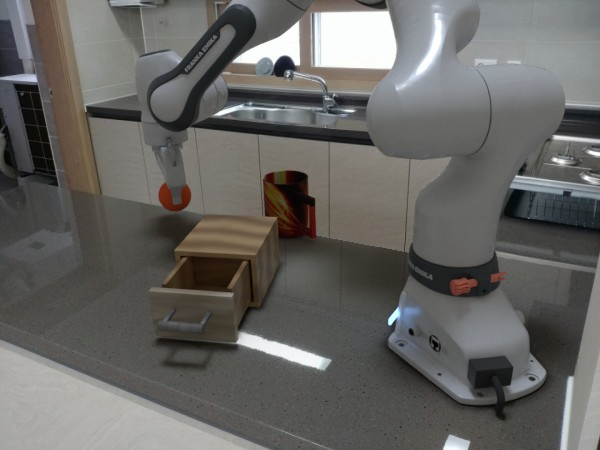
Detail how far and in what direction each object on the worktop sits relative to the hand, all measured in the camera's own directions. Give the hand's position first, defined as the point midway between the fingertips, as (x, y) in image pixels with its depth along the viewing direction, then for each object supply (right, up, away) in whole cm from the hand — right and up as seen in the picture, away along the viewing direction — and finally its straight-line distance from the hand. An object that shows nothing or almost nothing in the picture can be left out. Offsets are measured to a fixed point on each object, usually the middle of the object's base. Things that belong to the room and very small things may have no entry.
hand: (174, 196), depth 115 cm
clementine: (0, -3, +1) cm, 3 cm away
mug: (+26, -7, +2) cm, 27 cm away
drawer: (+12, -21, -31) cm, 40 cm away
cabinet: (+15, -16, -18) cm, 29 cm away
